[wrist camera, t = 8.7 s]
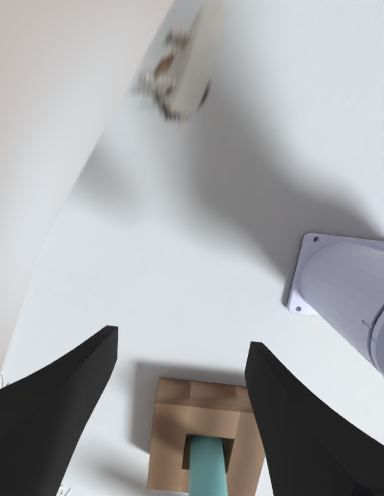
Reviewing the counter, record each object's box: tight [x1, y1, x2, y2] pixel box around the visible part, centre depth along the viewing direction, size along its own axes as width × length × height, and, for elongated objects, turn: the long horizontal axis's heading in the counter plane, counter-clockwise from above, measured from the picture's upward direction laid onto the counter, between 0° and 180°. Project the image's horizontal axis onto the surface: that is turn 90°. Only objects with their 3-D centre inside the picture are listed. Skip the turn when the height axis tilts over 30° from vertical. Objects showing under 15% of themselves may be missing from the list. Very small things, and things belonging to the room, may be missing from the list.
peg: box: [189, 434, 228, 496], centre depth 21 cm, size 4×4×8 cm
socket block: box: [147, 378, 265, 496], centre depth 24 cm, size 12×12×3 cm
